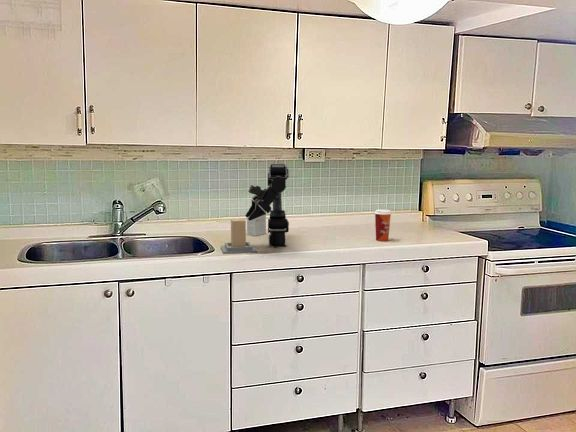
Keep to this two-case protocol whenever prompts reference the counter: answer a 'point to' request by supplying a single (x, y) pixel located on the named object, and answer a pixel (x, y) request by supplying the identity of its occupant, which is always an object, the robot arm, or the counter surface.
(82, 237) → the counter surface
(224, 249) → the tray
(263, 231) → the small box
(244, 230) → the carton
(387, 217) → the paper cup
